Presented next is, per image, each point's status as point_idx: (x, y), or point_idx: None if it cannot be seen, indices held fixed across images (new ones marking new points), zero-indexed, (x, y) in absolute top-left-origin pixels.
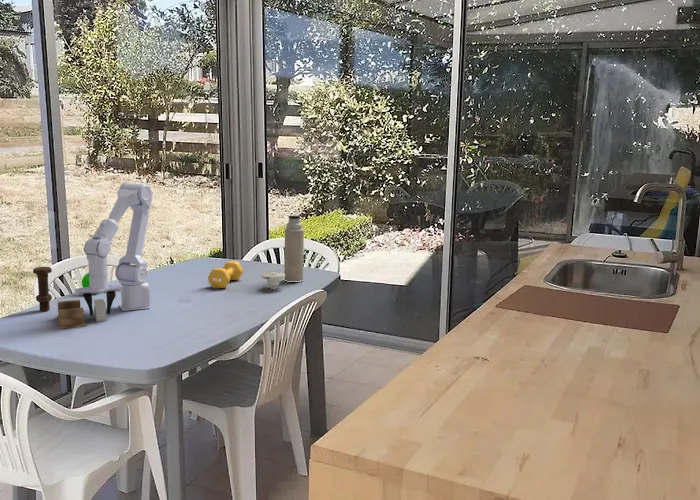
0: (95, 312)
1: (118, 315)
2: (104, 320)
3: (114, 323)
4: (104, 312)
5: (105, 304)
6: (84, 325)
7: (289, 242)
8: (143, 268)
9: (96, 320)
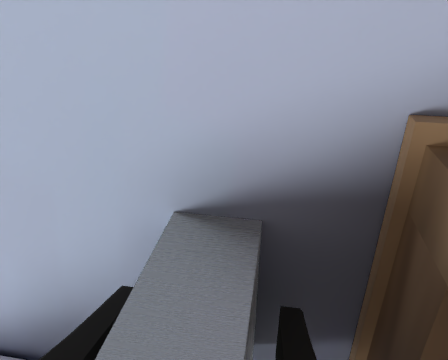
0: (251, 330)
1: (75, 299)
2: (188, 216)
3: (100, 93)
4: (158, 270)
5: (97, 355)
6: (428, 120)
7: None
8: None
9: (260, 234)
